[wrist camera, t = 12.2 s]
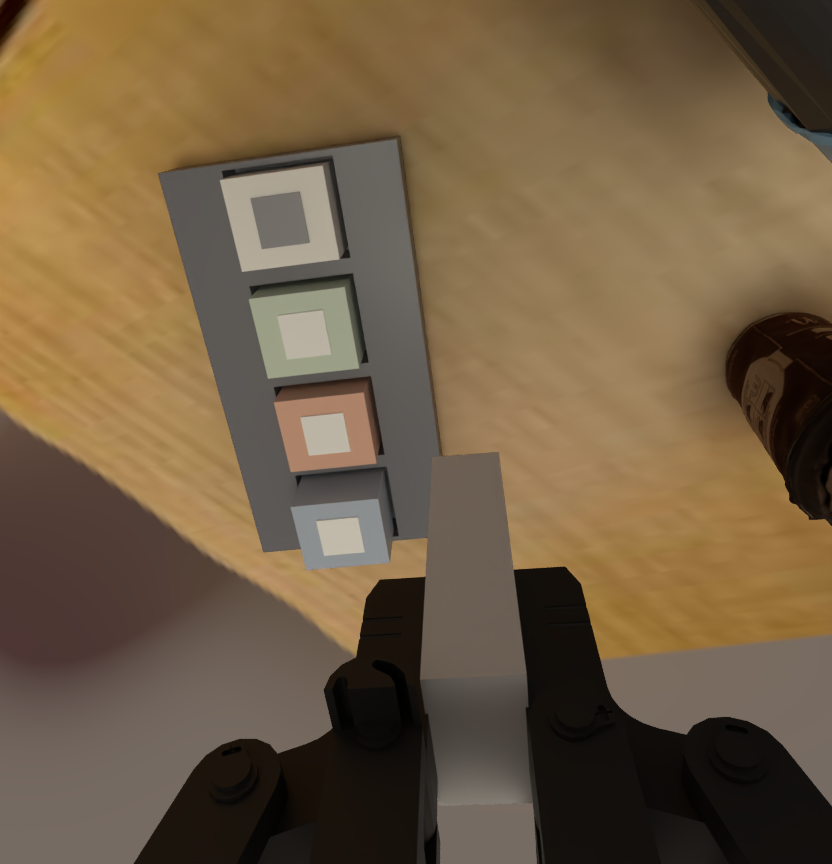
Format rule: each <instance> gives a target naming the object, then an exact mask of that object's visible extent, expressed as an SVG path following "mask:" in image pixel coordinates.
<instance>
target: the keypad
mask: <svg viewBox="0 0 832 864" xmlns="http://www.w3.org/2000/svg"><path fill="white" fill-rule="evenodd" d="M330 159H333V161H334V166H335V172H336V178H337V184H338V189H339V195H340V201H341V207H342V212H343V218H344V224H345V230H346V235H347V241H348V247H347V248H346V250H345V252H344V253H343V255H342V256H341V258H340V259H339V260H331V261H323V262H316V263H308V264H300V265H292V266H284V267H277V268H269V269H261V270H253V271H246V272H242V270H241V266H240V261H239V257H238V253H237V249H236V245H235V241H234V237H233V233H232V229H231V224H230V220H229V216H228V212H227V208H226V204H225V200H224V196H223V192H222V187H221V183H220V180H221V179H224V178H227V177H229V176H232V175H234V174H237V173H239V172H246V171H253V170H260V169H267V168H274V167H281V166H288V165H295V164H302V163H309V162H316V161H323V160H330ZM158 175H159V179H160V183H161V186H162V190H163V193H164V197H165V201H166V204H167V208H168V211H169V215H170V219H171V222H172V226H173V229H174V233H175V237H176V240H177V244H178V247H179V251H180V254H181V258H182V262H183V265H184V269H185V272H186V276H187V280H188V283H189V287H190V290H191V294H192V298H193V301H194V305H195V308H196V312H197V315H198V319H199V323H200V326H201V330H202V333H203V337H204V341H205V344H206V348H207V351H208V355H209V359H210V362H211V366H212V369H213V373H214V377H215V380H216V384H217V387H218V391H219V394H220V398H221V402H222V405H223V409H224V412H225V416H226V420H227V423H228V427H229V430H230V434H231V438H232V441H233V445H234V448H235V452H236V455H237V459H238V463H239V466H240V470H241V473H242V477H243V481H244V484H245V488H246V491H247V495H248V499H249V502H250V506H251V509H252V513H253V517H254V520H255V524H256V527H257V531H258V534H259V538H260V542H261V545H262V549H263V552H273V551H284V550H295V549H301V547H300V543H299V539H298V535H297V531H296V527H295V523H294V519H293V515H292V511H291V505H292V502H293V499H294V497H295V494H296V491H297V489H298V486H299V483H300V481H301V478H302V475H312V474H322V473H332V472H342V471H352V470H362V469H372V468H382V467H383V469H384V475H385V480H386V486H387V492H388V497H389V503H390V509H391V514H392V520H393V526H394V532H393V540H392V541H396V540H407V539H418V538H428V524H429V505H430V487H431V468H432V457H440V456H442V448H441V441H440V433H439V426H438V418H437V411H436V404H435V396H434V389H433V381H432V374H431V366H430V359H429V351H428V344H427V336H426V329H425V321H424V314H423V306H422V299H421V291H420V284H419V276H418V269H417V261H416V254H415V246H414V239H413V231H412V224H411V216H410V209H409V201H408V194H407V186H406V179H405V171H404V164H403V156H402V149H401V141H400V136H397V137H390V138H383V139H376V140H369V141H362V142H355V143H348V144H341V145H334V146H328V147H321V148H314V149H307V150H300V151H293V152H286V153H279V154H272V155H265V156H258V157H251V158H244V159H238V160H231V161H224V162H217V163H210V164H203V165H196V166H189V167H182V168H176V169H172V170H169V171H165V172H162V173H158ZM351 273H353V275H354V281H355V287H356V293H357V298H358V304H359V310H360V316H361V321H362V327H363V333H364V339H365V344H366V348H365V352H364V355H363V358H362V361H361V364H360V368H358V369H350V370H341V371H332V372H323V373H314V374H306V375H297V376H288V377H279V378H270V379H268V377H267V373H266V368H265V364H264V360H263V356H262V352H261V348H260V344H259V340H258V336H257V331H256V327H255V323H254V319H253V315H252V311H251V307H250V303H249V298H250V297H251V296H252V295H253V294H254V293H255V292H256V291H257V290H258V289H259V288H260V287H261V286H262V285H264V284H272V283H280V282H288V281H296V280H303V279H311V278H319V277H327V276H335V275H343V274H351ZM367 376H371V379H372V385H373V390H374V396H375V402H376V408H377V413H378V419H379V425H380V431H381V436H382V437H381V442H380V447H379V453H378V458H377V463H376V464H367V465H357V466H347V467H337V468H327V469H317V470H307V471H297V472H291V471H290V467H289V463H288V459H287V455H286V451H285V446H284V442H283V438H282V434H281V430H280V426H279V422H278V418H277V414H276V409H275V405H274V401H275V399H276V398H277V396H278V394H279V392H280V390H281V389H282V387H283V386H287V385H296V384H305V383H314V382H323V381H332V380H341V379H350V378H359V377H367Z"/></svg>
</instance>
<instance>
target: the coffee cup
mask: <svg viewBox="0 0 832 864" xmlns="http://www.w3.org/2000/svg"><path fill="white" fill-rule="evenodd" d="M726 379H727V386H728V388H729V390H730V392H731V394H732V396H733V398H735V399H736V400H737V401H738V402H739V404H740V406H741V407H742V410H743V413H744V415H745V417H746V420H747V421H748V423H749V425H750V426H751V428H752V429H753V431H754V432H755V433H756V435H757V436H758V438H759V440H760V441H761V443H762V444H763V446H764V448H765V449H766V451H767V452H768V454H769V455H770V457H771V459H772V460H773V462H774V463H775V465H776V467H777V469H778V470H779V472H780V473H781V474H782V476H783V478H784V480H785V486H786V489H787V490H788V492H789V500H790V502H791V503H793V504H796V505H798V507H799V509H801V510H802V511H803V512H804V513H805V514H807V515H808V517H809V520H818V519H826V520H827V521H828V522H829V524H830V525H831V526H832V324H831V323H830V322H828V321H827V320H825V319H823V318H821V317H818V316H814V315H810V314H805V313H783V314H776V315H773V316H770V317H767V318H765V319H762V320H760V321H758V322H756V323H754V324H752V325H751V326H749V327H748V328H747V329H746V330H745V332H744V333H743V334H742V335H741V336H740V337H739V339H738V340H737V341H736V343H735V344H734V345H733V347H732V349H731V350H730V353H729V355H728V359H727V363H726Z"/></svg>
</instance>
